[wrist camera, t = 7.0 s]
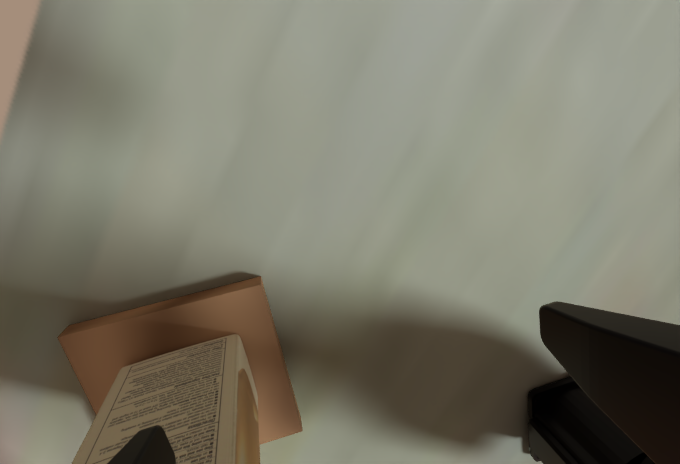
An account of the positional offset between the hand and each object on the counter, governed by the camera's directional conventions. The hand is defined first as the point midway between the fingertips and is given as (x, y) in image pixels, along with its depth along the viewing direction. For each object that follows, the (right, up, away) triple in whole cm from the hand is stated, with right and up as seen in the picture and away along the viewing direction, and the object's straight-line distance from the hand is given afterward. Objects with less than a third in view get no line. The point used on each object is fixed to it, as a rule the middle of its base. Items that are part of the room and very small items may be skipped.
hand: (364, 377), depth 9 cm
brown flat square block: (-9, -5, +14) cm, 17 cm away
